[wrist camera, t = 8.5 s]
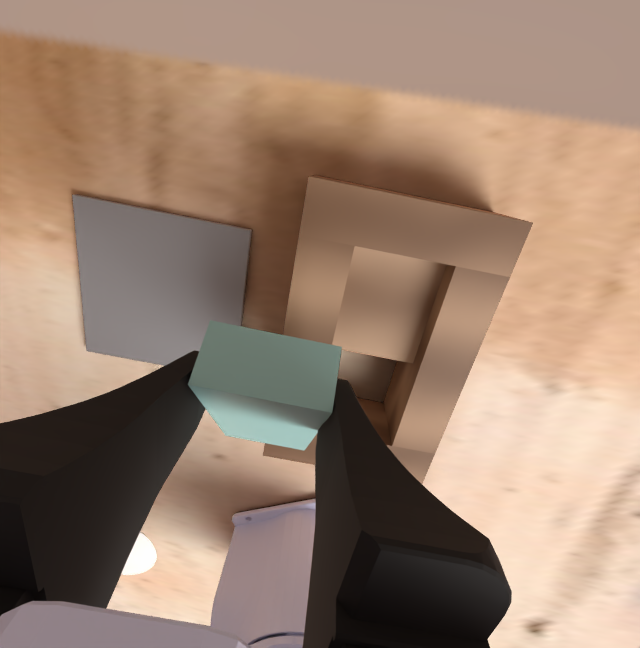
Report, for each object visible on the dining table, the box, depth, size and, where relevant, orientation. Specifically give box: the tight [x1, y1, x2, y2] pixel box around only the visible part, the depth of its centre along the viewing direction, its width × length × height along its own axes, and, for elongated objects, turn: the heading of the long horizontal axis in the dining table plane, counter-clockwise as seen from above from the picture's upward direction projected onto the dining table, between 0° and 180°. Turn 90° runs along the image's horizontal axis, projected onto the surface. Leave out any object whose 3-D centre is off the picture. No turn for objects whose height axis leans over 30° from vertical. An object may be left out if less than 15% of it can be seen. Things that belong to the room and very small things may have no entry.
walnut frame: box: [263, 175, 533, 484], centre depth 20 cm, size 16×10×4 cm, turn 169°
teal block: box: [188, 320, 342, 450], centre depth 14 cm, size 9×4×2 cm
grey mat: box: [72, 194, 252, 366], centre depth 22 cm, size 10×10×1 cm
